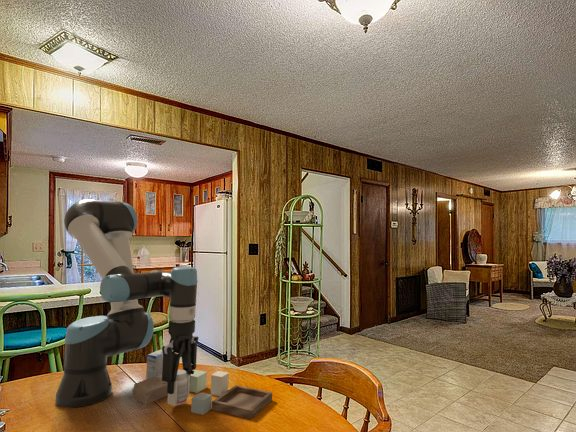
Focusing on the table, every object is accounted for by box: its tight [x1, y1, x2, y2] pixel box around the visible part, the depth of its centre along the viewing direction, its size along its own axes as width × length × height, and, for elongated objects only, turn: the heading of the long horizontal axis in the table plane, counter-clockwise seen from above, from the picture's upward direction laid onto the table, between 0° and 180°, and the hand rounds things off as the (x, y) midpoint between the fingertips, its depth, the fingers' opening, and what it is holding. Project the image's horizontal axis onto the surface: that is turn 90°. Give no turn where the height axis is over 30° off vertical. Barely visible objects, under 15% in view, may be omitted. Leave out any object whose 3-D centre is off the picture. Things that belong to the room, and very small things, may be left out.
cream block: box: [210, 370, 230, 397], centre depth 115 cm, size 4×4×6 cm
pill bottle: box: [176, 369, 188, 406], centre depth 106 cm, size 5×5×8 cm
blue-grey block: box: [190, 391, 213, 415], centre depth 104 cm, size 4×4×4 cm
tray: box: [211, 384, 273, 420], centre depth 107 cm, size 13×13×2 cm
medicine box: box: [145, 348, 163, 380], centre depth 128 cm, size 8×4×9 cm, turn 158°
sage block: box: [189, 369, 208, 394], centre depth 119 cm, size 5×5×5 cm
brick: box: [131, 374, 168, 405], centre depth 116 cm, size 17×8×5 cm, turn 145°
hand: (178, 400), depth 106 cm, fingers closed on pill bottle, 5 cm apart
